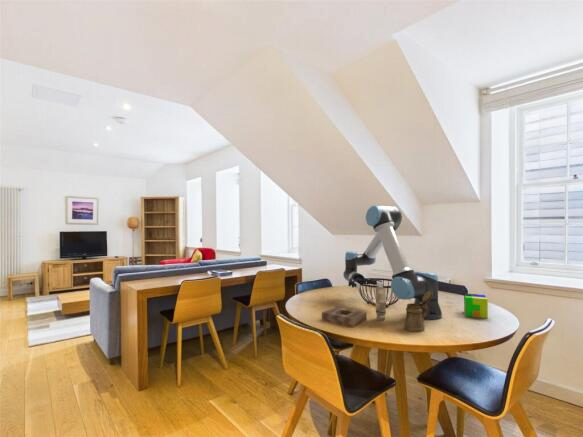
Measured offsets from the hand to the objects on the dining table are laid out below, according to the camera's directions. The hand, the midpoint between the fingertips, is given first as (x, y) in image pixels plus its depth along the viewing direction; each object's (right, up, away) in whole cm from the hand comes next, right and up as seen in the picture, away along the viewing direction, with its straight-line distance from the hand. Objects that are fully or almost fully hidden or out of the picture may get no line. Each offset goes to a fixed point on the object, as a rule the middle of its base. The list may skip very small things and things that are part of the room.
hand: (370, 286), depth 174 cm
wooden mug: (+16, -15, -26) cm, 34 cm away
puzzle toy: (+56, -15, -4) cm, 58 cm away
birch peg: (+2, -15, -11) cm, 19 cm away
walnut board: (-17, -15, -12) cm, 25 cm away
